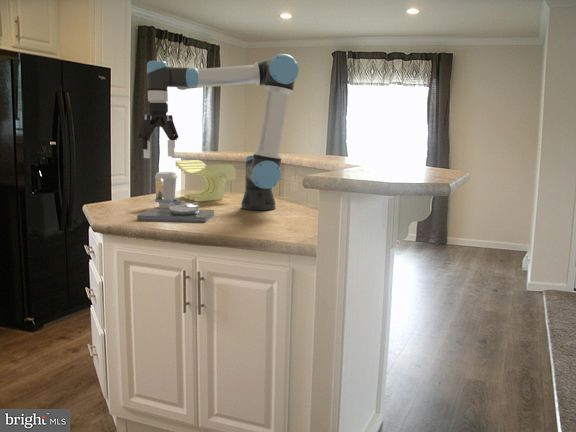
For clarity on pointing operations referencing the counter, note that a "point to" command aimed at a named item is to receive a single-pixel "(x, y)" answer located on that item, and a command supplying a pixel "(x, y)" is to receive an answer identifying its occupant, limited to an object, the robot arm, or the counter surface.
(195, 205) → the lever with amber grip
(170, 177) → the coffee cup
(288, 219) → the counter surface
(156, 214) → the plate
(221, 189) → the slatted curved stool
